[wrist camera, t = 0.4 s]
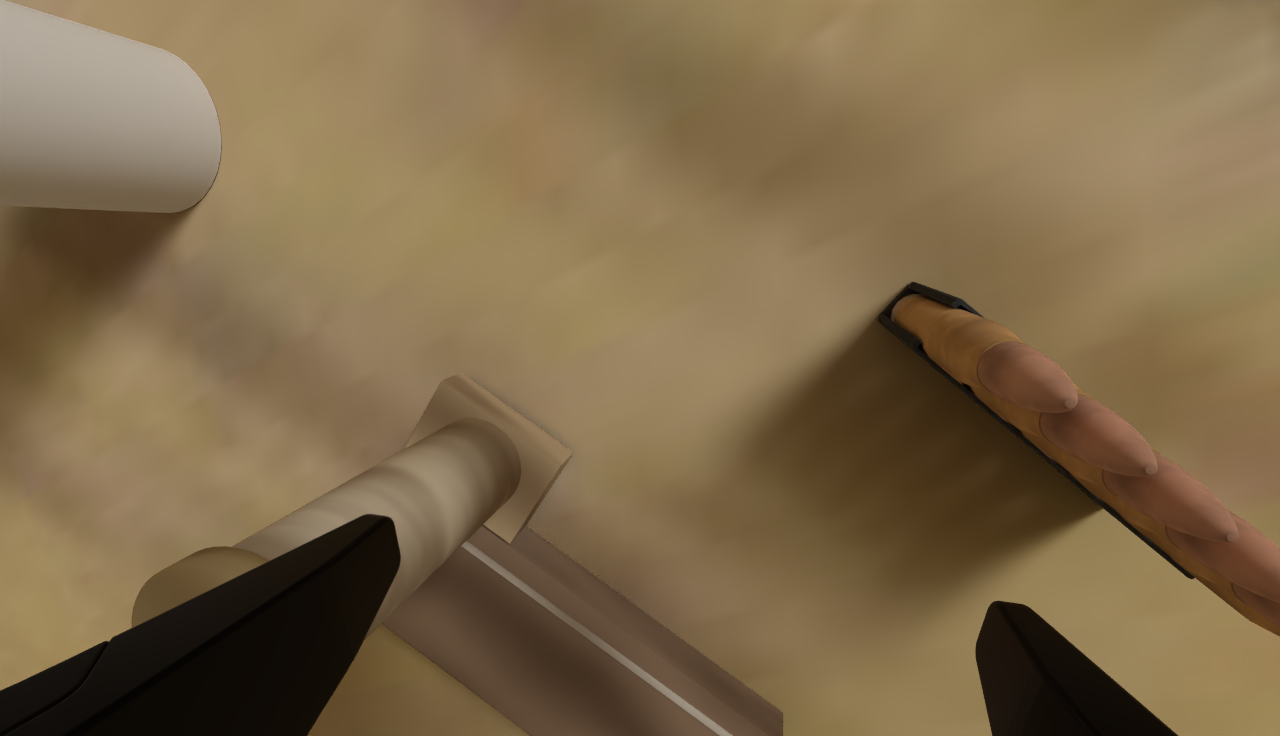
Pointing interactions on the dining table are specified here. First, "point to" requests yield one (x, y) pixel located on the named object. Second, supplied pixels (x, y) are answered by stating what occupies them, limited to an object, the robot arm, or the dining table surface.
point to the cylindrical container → (99, 120)
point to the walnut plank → (568, 649)
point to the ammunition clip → (1093, 449)
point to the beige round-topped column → (403, 499)
